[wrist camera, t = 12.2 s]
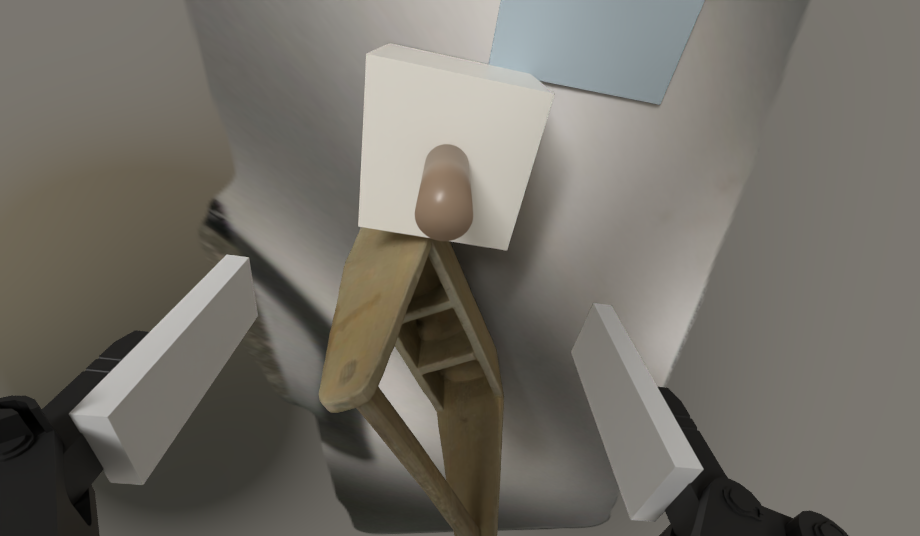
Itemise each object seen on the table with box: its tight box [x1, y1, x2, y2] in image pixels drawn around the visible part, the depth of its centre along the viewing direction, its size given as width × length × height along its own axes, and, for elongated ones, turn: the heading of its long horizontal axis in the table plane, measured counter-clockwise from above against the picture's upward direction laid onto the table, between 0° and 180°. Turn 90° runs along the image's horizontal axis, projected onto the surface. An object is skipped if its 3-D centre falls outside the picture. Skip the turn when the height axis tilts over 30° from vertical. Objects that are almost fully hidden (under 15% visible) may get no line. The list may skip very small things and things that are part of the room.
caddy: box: [319, 227, 504, 536], centre depth 45 cm, size 29×11×30 cm, turn 20°
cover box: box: [358, 43, 555, 251], centre depth 35 cm, size 15×15×22 cm
